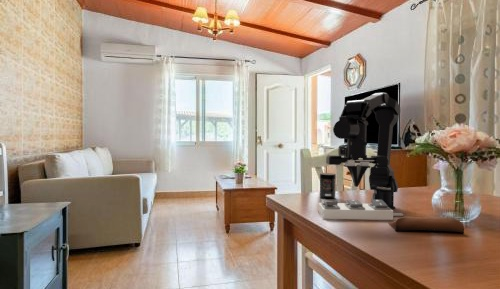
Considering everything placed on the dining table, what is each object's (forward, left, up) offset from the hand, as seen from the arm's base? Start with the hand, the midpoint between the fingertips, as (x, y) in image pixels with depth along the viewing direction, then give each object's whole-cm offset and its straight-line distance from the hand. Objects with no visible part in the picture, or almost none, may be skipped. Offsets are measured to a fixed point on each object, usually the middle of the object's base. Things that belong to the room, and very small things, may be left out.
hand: (356, 186), depth 100 cm
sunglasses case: (-16, +11, -11) cm, 22 cm away
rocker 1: (+8, -2, -6) cm, 10 cm away
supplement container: (+3, -33, -11) cm, 35 cm away
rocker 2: (-8, -2, -6) cm, 10 cm away
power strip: (-3, -3, -10) cm, 11 cm away
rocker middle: (0, -2, -6) cm, 6 cm away
